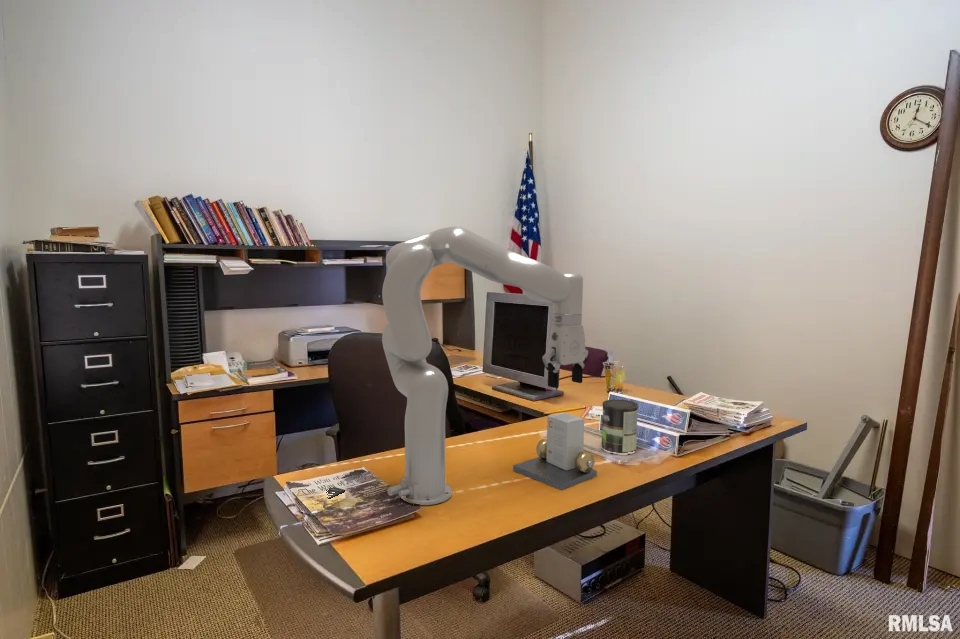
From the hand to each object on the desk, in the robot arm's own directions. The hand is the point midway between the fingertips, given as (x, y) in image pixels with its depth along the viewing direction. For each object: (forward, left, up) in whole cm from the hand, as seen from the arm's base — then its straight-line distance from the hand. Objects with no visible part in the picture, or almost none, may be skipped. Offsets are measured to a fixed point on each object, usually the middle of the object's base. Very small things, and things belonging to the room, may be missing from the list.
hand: (565, 384), depth 150 cm
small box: (0, 0, -22) cm, 22 cm away
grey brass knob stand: (-4, 0, -23) cm, 24 cm away
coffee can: (+25, 0, -24) cm, 35 cm away
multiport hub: (-59, +22, -24) cm, 67 cm away
